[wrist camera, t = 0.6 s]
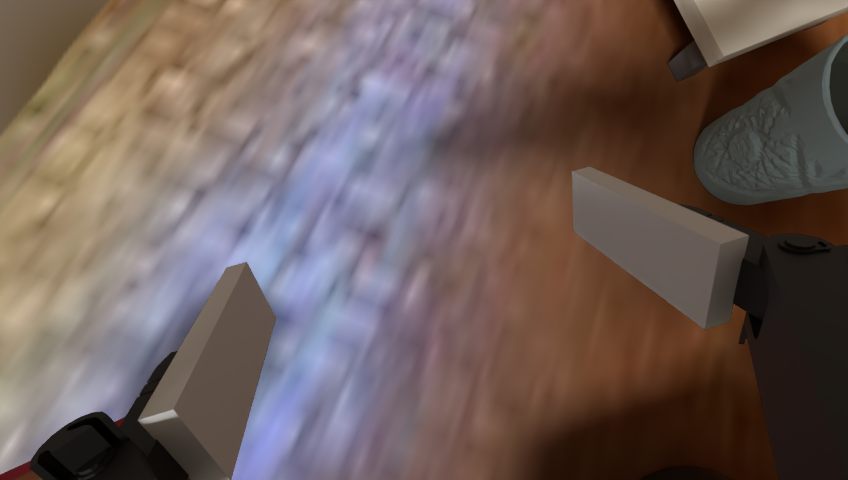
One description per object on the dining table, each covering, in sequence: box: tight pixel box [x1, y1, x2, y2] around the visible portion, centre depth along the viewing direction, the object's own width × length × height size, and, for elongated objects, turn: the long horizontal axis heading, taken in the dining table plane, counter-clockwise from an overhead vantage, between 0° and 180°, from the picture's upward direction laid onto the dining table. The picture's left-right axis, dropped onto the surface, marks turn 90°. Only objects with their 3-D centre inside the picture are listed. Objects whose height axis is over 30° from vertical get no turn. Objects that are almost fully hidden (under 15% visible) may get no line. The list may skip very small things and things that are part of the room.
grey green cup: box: [693, 34, 848, 205], centre depth 28 cm, size 10×10×12 cm
